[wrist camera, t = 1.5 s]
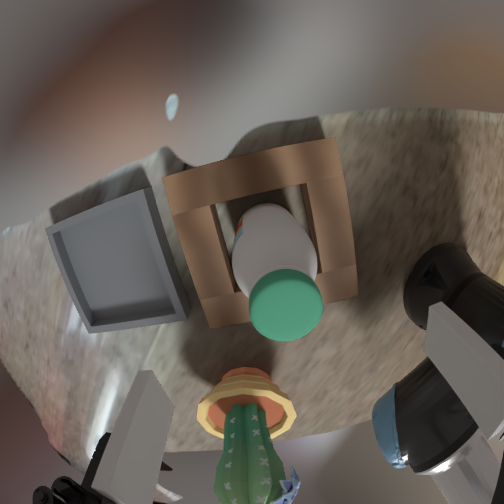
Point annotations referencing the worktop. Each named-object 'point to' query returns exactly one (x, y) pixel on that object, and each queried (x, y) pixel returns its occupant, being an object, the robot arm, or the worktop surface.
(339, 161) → the block
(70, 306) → the worktop surface
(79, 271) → the tray
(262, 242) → the milk bottle
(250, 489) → the potted cactus
